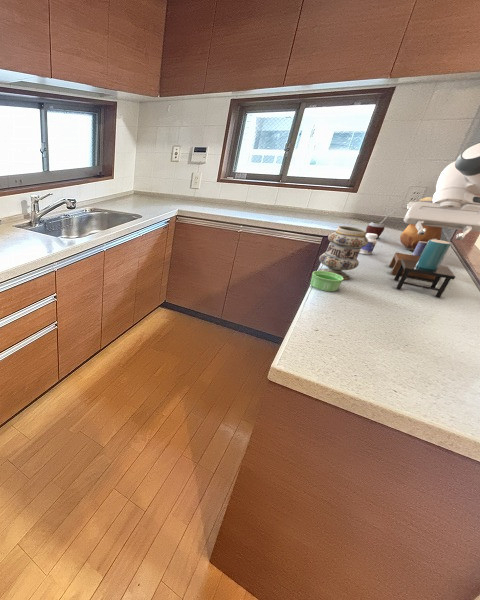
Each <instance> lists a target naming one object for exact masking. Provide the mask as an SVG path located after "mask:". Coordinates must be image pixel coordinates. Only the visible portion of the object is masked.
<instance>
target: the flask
mask: <svg viewBox="0 0 480 600" xmlns="http://www.w3.org/2000/svg"><path fill="white" fill-rule="evenodd" d="M434 240H437V239H434ZM427 243H428V242H423V241H419V242H418V244H417V246H416V248H415V250H414V251H412V254H411V255H415V256H421V254H422V252H423V250H424V249H425V247H426V245H427Z"/></svg>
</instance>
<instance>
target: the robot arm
mask: <svg viewBox="0 0 480 600" xmlns="http://www.w3.org/2000/svg"><path fill="white" fill-rule="evenodd" d="M479 195H480V142H476V143H474V144H472V145H470V146H468V147H466V148H465V149H464V150H463V151H462V152H461V153H460V154H459V156H458V157H457V158H456V160H455V161H452V162H451V163H449V164H448V165H447V166H446V167H444V168H443V170H442V171H441V172H440V175H439V176H438V179H437V181H436V184H435V192H434V193H433V195H432V197H433V198H432V201H422V200H421V199H414V200H411V201H409V202H408V203H407V206H406V209H407V211H406V214H405V215H404V217H403V222H404V223H405V224H408V225H409V224H416V226H415V227H416V228H417V230H418V235H424V234H425V232H426V228H423V227H422V225H425V226H433V227H442V229H451V230H461V231H462V232H458V233H457V234H456V236H455V240H456V241H463V240H464V239H465V237H466V235H467V234H469V233H470V232H477V233H480V196H479Z"/></svg>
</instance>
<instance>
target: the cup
mask: <svg viewBox="0 0 480 600" xmlns="http://www.w3.org/2000/svg"><path fill="white" fill-rule="evenodd" d="M451 246H452V242H450V241H446V240H441V239H440V240H434V239H430V240H429V241H428V243H427V245H426V247H425V249H424V250H423V252H422V254H421V256H420V258H419V260H418V262H417V264H416V266H418V267H421V268H424V269H430V270H437V269H438V268H439V266H440V265H441V264H442V262H443V261H444V259H445V257H446V255H447V253H448V251H449V250H450V248H451Z"/></svg>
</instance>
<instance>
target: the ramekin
mask: <svg viewBox="0 0 480 600" xmlns="http://www.w3.org/2000/svg"><path fill="white" fill-rule="evenodd" d="M344 280H345V279H344V278H343V277H342V276H340V275H338V274H335V273H332V272H327V271H318V270H314V271H312V273H311V279H310V286H311V287H313V288H315V289H317V290H320V291H325V292H336V291H338V289H339V287H340V286H341V284H342V282H343V281H344Z"/></svg>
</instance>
